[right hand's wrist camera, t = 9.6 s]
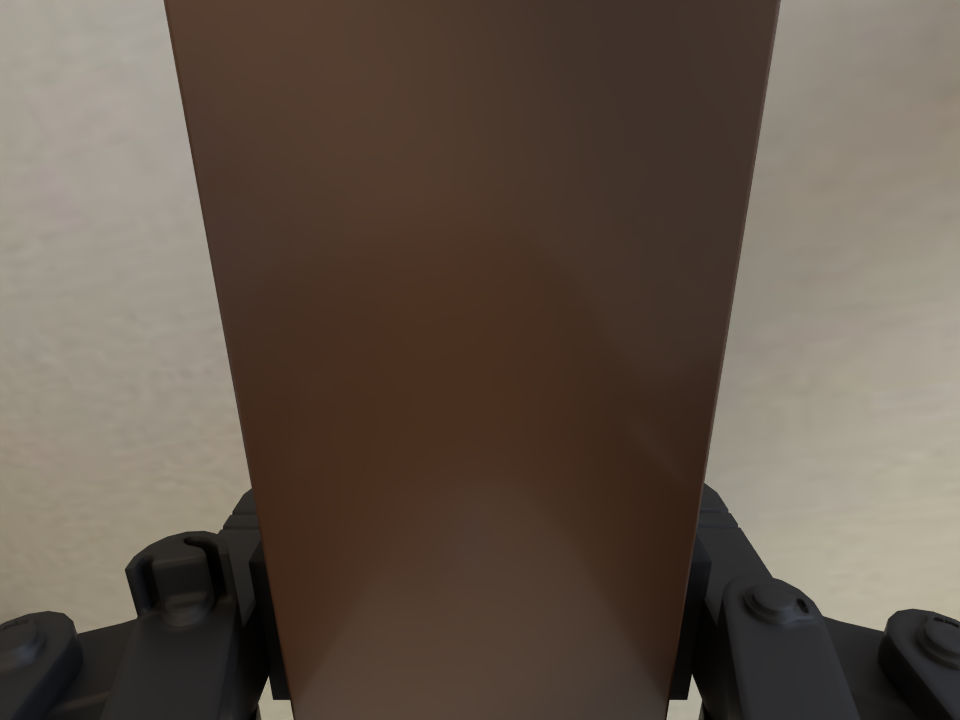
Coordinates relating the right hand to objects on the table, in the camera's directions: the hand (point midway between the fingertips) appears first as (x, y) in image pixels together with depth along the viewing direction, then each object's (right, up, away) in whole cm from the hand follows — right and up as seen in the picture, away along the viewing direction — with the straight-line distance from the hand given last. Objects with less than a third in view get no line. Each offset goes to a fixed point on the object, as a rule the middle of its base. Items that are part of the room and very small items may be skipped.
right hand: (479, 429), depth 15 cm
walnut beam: (0, +11, -4) cm, 12 cm away
